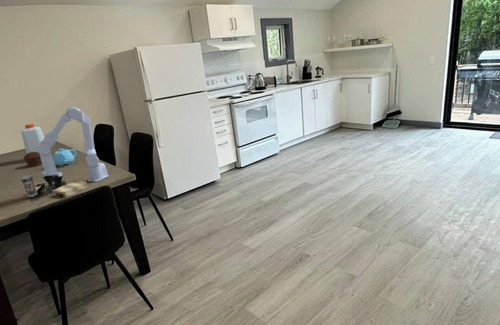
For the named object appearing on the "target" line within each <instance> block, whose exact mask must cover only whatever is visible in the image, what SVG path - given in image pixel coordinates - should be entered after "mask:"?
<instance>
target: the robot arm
mask: <svg viewBox="0 0 500 325" xmlns="http://www.w3.org/2000/svg"><path fill="white" fill-rule="evenodd" d="M72 120H75V121H78V123H80V124H81V128H82V134H83V140H84V145H85V158H84V159H85V161H86V163H87V165H86V168H87V172H88V175H89V179H87V181H86V182H94V183H97V182H99V181H101V180H104V179H106V178H108V177H110V175H109V174H108V170H107V168H106V165H105V164H104V163H103V162H100V159H99V157H98V156H97V152H96V149H95V142H94V137H93V130H92V124H91V123H92V122H91V119H90V118H89V117H88V116H87V114H85V113H84V111H83V110H81V109H79V108H78V107H75V106H69V107H68V108H67V109H66V111H64V113H62V115H61V116H60V117H59V119H58V121H57V122H56V124H55V126H54V128H53V129H52V131H48V132H46V133H45V134H44V139H43V141H41V142H40V143H41V144H40V145H39V146H38V152H39V153H40V157H41V161H42V164H41V165H42V167H43V170H44V171H41V176H42V179H43V180H44V181H45V182H46V183H47V185H48V184H51V183H52V182H53V181H54V183H55V185H56V187H57V188H59V187H61V181H62V180H63V172H61V171H58V170H57V165H56V164H55V163H54V155H52V152H51V151H52V148H53V147H54V146H55V144H56V142H57V141H58V140H59V138H60V137H59V133H60V132H61V131H62V130H63V128H64V127H65V125H66V124H67V123H69V122H72Z"/></svg>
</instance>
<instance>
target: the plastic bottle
mask: <svg viewBox="0 0 500 325" xmlns="http://www.w3.org/2000/svg"><path fill="white" fill-rule="evenodd" d="M20 132H21V133H20V134H21V137H22V140H23V141H22V142H23V145H24V149H25V152H26V154H27V153H30V152H38V146H39V145H40V144H41V143H40V142H41V141H43V139H44V138H45V135H44V133H43V131H42V128H41V127H40V126H35V124H34V123H30V124H26V125H24V128H23V129H22V130H21V131H20ZM26 154H25V155H26Z"/></svg>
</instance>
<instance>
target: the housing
mask: <svg viewBox="0 0 500 325" xmlns="http://www.w3.org/2000/svg"><path fill="white" fill-rule="evenodd" d="M66 184H67V182H66V180H63V179H62V181H61V187H62V186H64V185H66ZM44 188H45V193H44V194H45V195H50V194H53V192H52V190H55V189H57V187H56V185H55V183H54V181H53V182H52V183H51V184H48V183H47V184H46V185H44Z"/></svg>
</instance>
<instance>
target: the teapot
mask: <svg viewBox="0 0 500 325" xmlns="http://www.w3.org/2000/svg"><path fill="white" fill-rule="evenodd" d="M72 152H73V153H72ZM53 154H54V155H53V159H54V163H55V166H59V168H61V167H63V166H64V165H68V166H69V165H73V164H72V163H73V162H74V161H75V158H76V157H77V155H78V153H77V151H76V149H75V148H72V149H69V148H68V149H64V148H59V149H58V150H57V151H54V153H53Z"/></svg>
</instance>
